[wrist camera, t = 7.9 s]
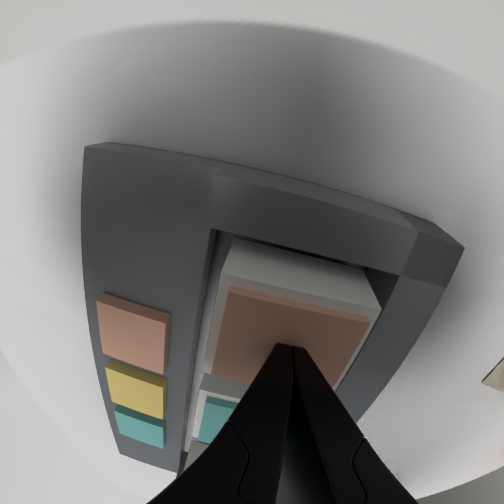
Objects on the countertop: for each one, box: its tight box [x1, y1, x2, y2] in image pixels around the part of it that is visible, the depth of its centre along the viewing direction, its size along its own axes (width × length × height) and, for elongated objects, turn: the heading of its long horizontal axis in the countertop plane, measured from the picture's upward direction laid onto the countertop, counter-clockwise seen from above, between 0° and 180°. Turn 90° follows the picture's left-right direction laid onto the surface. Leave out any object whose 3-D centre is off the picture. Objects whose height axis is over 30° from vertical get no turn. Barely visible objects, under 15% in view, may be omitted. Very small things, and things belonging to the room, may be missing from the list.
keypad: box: [81, 142, 464, 478], centre depth 13 cm, size 22×13×2 cm, turn 167°
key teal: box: [192, 373, 250, 444], centre depth 12 cm, size 4×4×4 cm
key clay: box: [202, 238, 382, 391], centre depth 10 cm, size 4×4×4 cm
